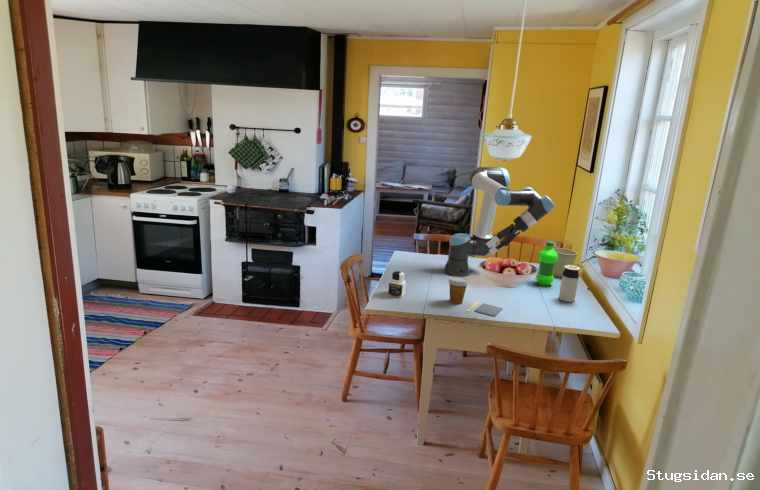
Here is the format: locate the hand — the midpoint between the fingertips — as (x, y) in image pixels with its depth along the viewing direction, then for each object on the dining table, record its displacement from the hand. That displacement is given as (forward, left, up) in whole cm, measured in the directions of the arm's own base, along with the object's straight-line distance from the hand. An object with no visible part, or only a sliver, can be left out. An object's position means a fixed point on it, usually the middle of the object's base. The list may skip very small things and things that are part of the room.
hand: (489, 249), depth 236 cm
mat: (+6, -8, -28) cm, 30 cm away
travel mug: (+34, +35, -28) cm, 57 cm away
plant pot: (+22, +77, -28) cm, 85 cm away
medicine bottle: (-39, -19, -28) cm, 52 cm away
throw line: (-2, -9, -28) cm, 29 cm away
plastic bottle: (+18, +53, -28) cm, 63 cm away
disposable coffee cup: (-11, -8, -28) cm, 31 cm away
